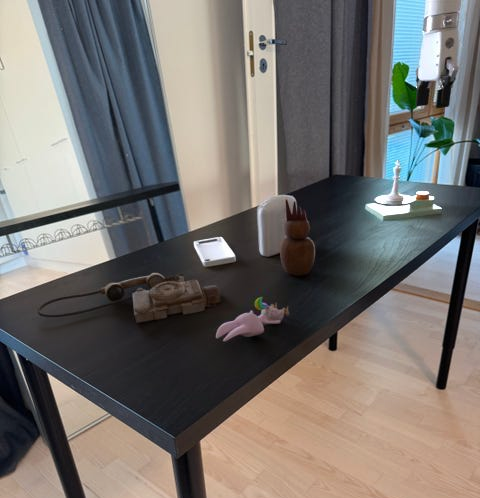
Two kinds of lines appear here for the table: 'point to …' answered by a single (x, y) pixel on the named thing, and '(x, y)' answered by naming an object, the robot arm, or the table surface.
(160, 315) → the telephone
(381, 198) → the pan
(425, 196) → the tare button
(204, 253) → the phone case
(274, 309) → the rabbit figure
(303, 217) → the wooden figurine
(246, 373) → the table surface
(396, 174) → the chess piece
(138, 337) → the table surface
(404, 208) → the scale
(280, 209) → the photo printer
